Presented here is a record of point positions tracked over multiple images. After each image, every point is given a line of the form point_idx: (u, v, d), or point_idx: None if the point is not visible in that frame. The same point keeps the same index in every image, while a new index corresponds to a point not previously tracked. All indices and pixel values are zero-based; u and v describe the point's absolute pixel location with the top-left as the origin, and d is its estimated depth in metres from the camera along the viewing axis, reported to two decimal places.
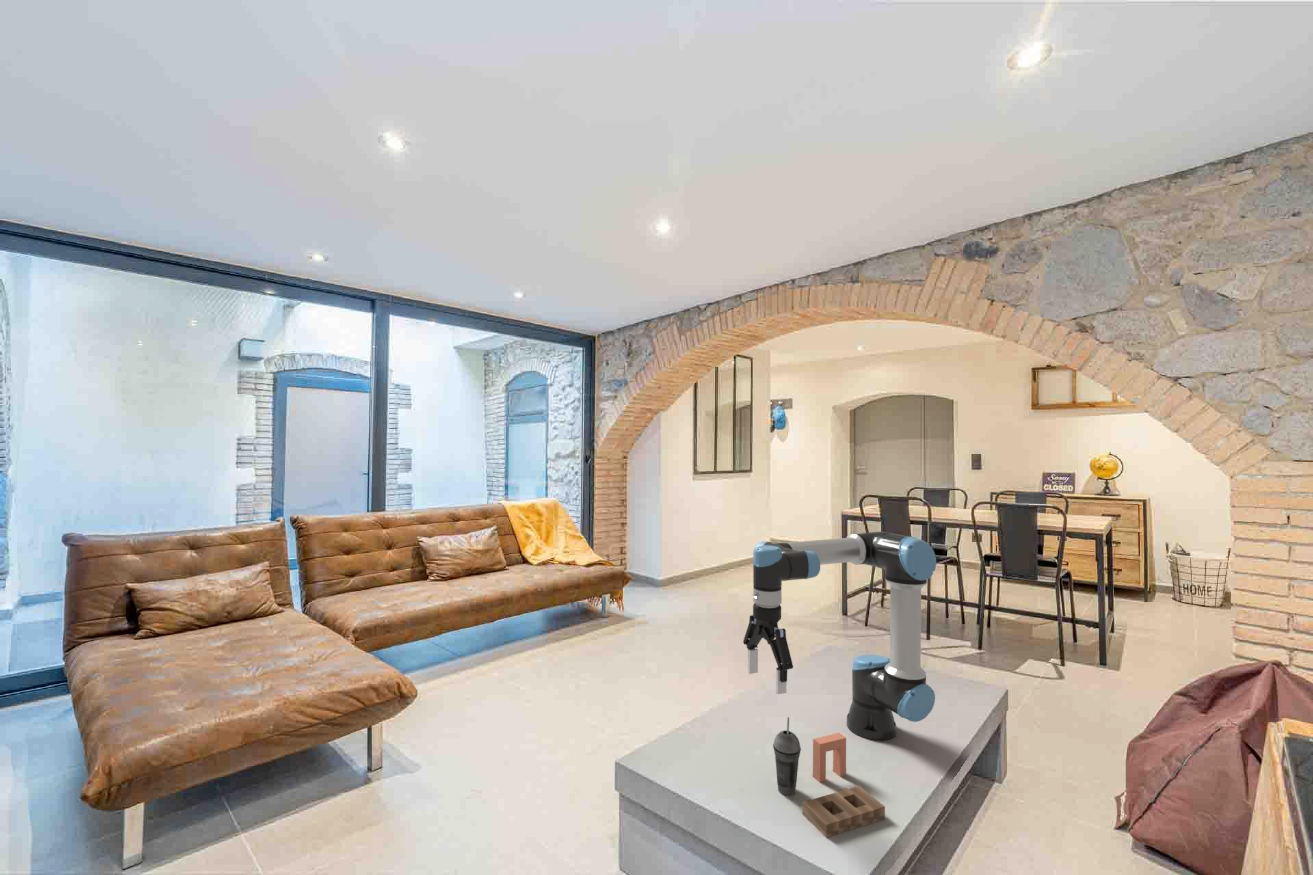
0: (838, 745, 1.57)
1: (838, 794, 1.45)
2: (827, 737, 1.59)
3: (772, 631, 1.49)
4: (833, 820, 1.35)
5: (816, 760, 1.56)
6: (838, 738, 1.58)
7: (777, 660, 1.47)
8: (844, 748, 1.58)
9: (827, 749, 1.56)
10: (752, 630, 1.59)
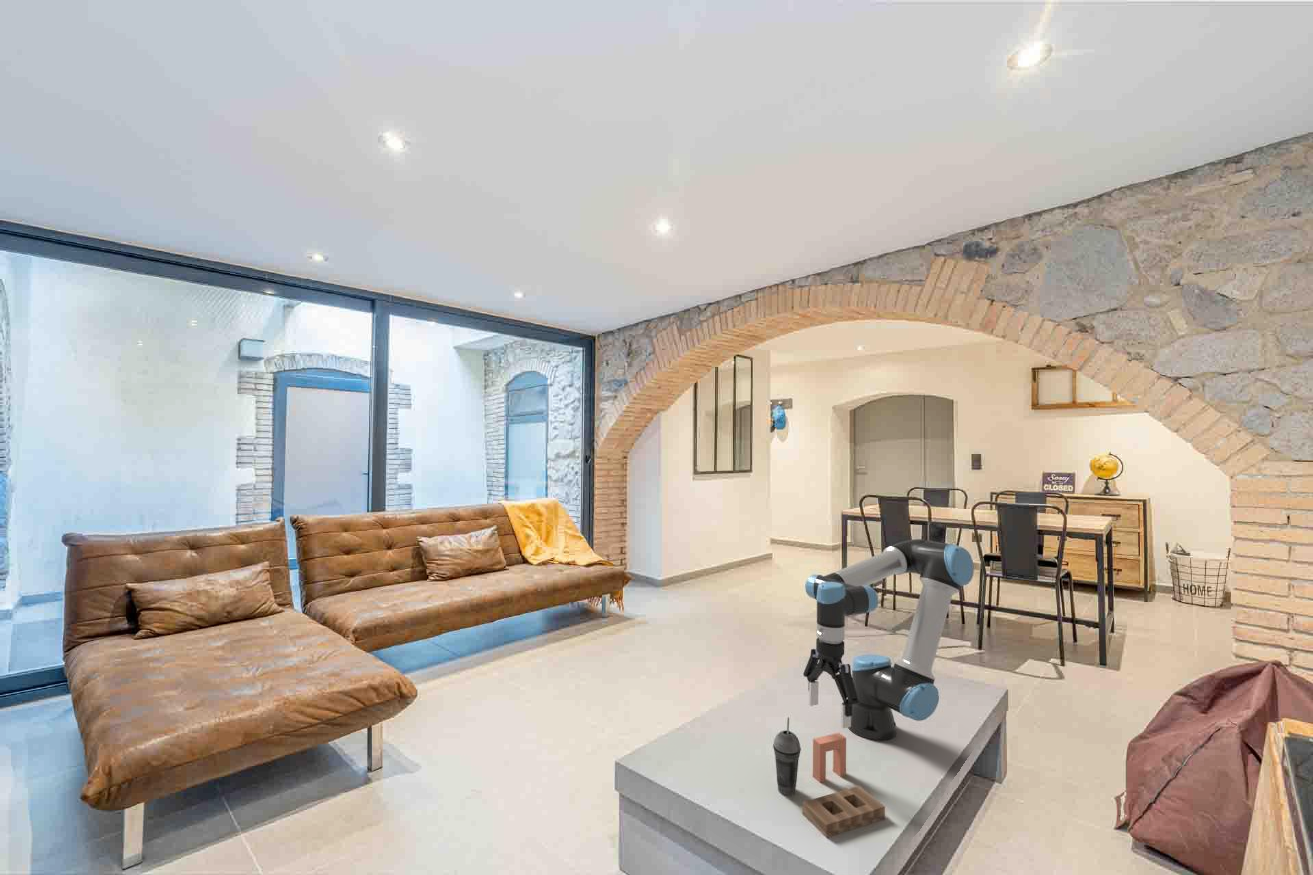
0: (838, 745, 1.57)
1: (838, 794, 1.45)
2: (827, 737, 1.59)
3: (836, 666, 1.54)
4: (833, 820, 1.35)
5: (816, 760, 1.56)
6: (838, 738, 1.58)
7: (842, 695, 1.51)
8: (844, 748, 1.58)
9: (827, 749, 1.56)
10: (813, 663, 1.64)
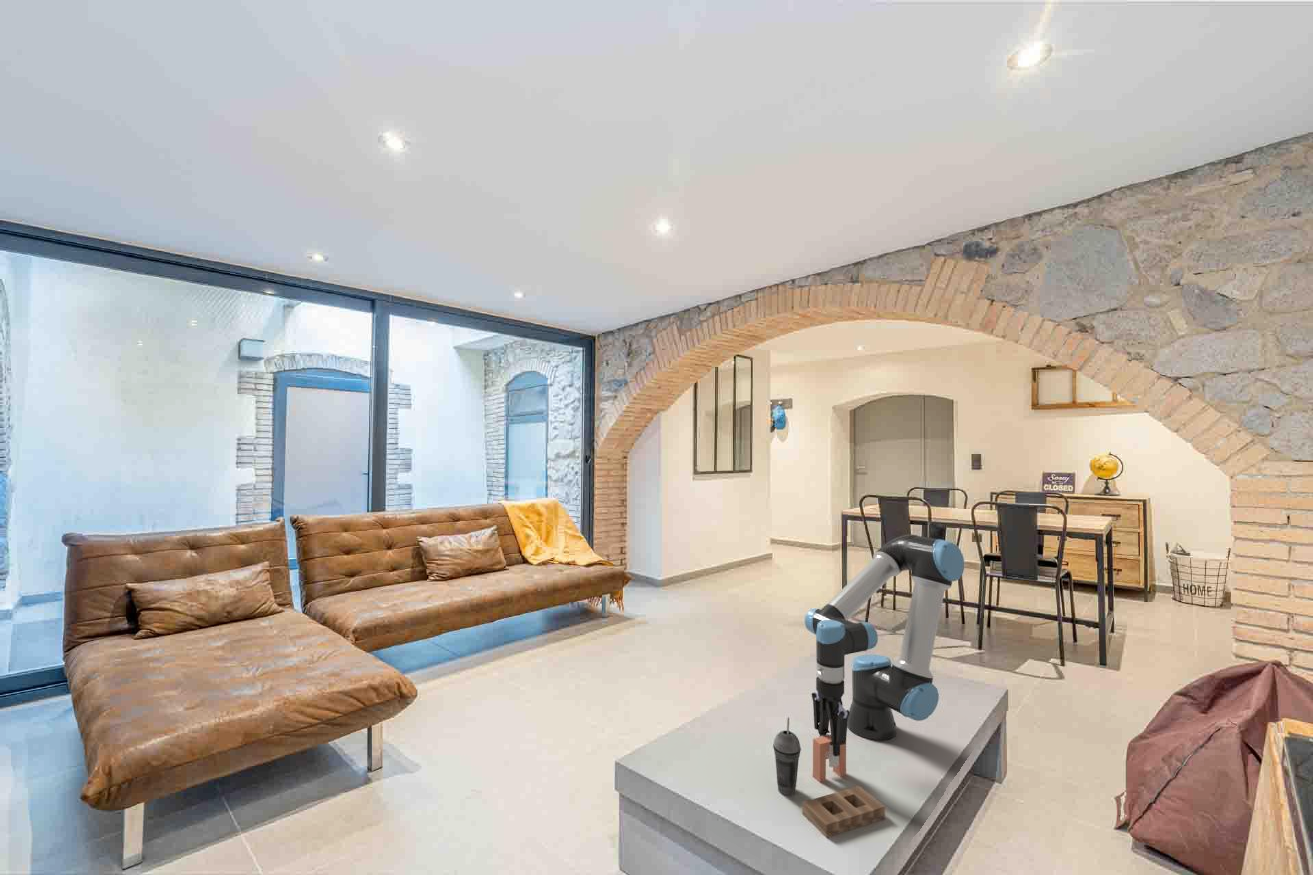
0: None
1: (838, 794, 1.45)
2: (827, 737, 1.59)
3: (836, 707, 1.54)
4: (833, 820, 1.35)
5: (816, 760, 1.56)
6: None
7: (832, 736, 1.55)
8: (844, 748, 1.58)
9: (827, 749, 1.56)
10: (818, 709, 1.62)
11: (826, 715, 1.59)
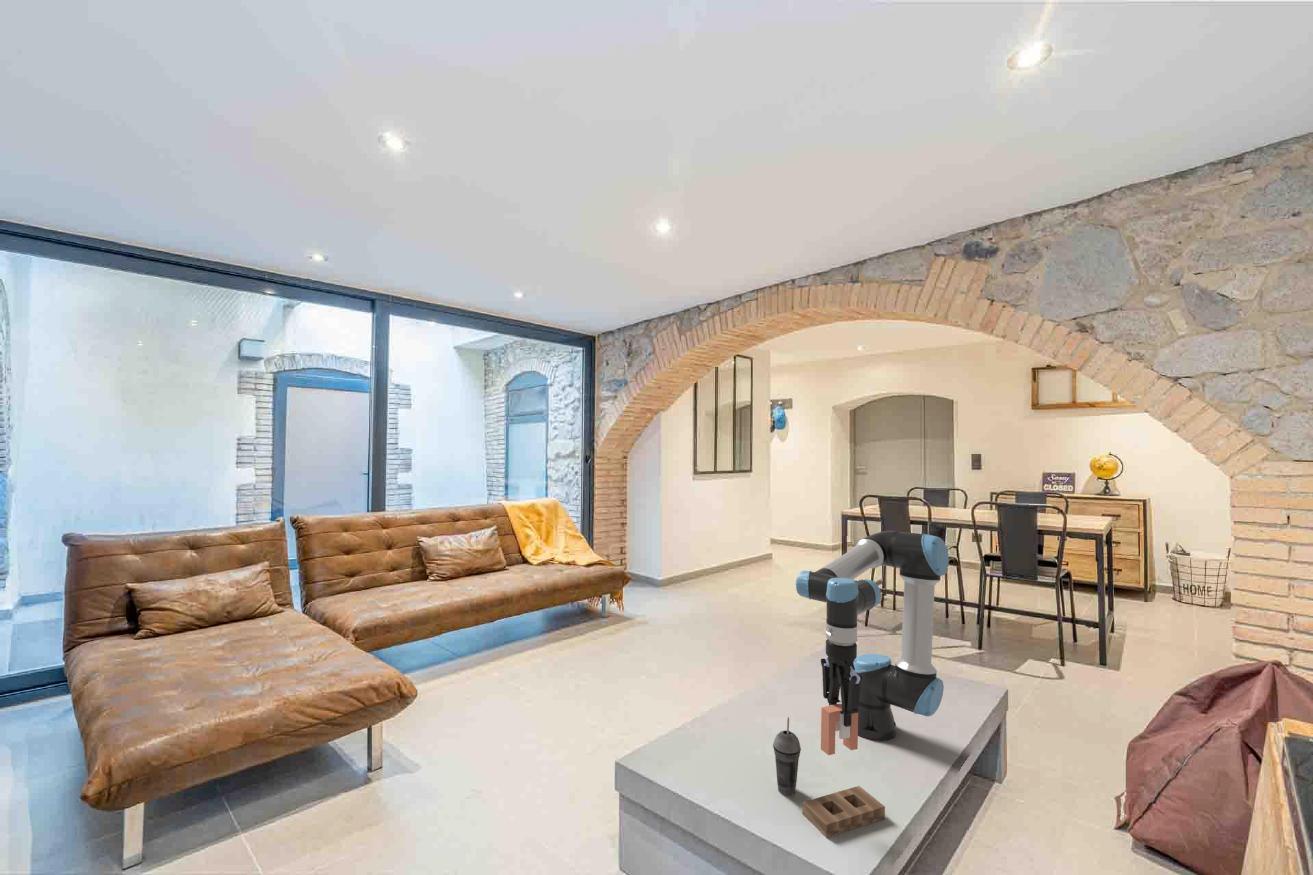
0: None
1: (838, 794, 1.45)
2: (837, 706, 1.44)
3: (847, 672, 1.40)
4: (833, 820, 1.35)
5: (824, 731, 1.42)
6: None
7: (843, 704, 1.41)
8: (856, 719, 1.43)
9: (837, 719, 1.41)
10: (828, 676, 1.48)
11: (836, 682, 1.45)
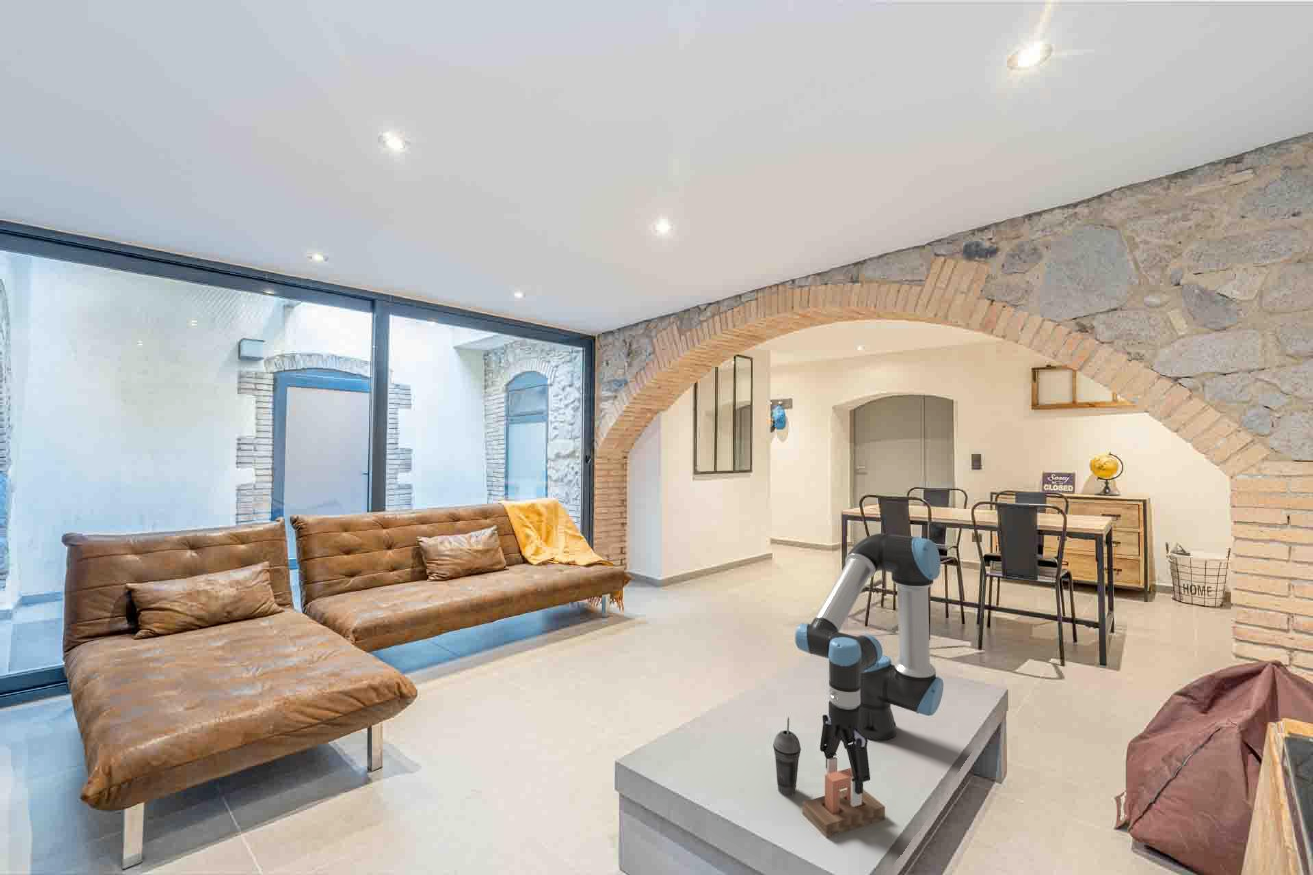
0: None
1: None
2: (841, 773, 1.42)
3: (852, 736, 1.37)
4: (833, 820, 1.35)
5: (828, 799, 1.39)
6: None
7: (853, 770, 1.36)
8: None
9: (841, 787, 1.39)
10: (828, 732, 1.46)
11: (836, 741, 1.44)
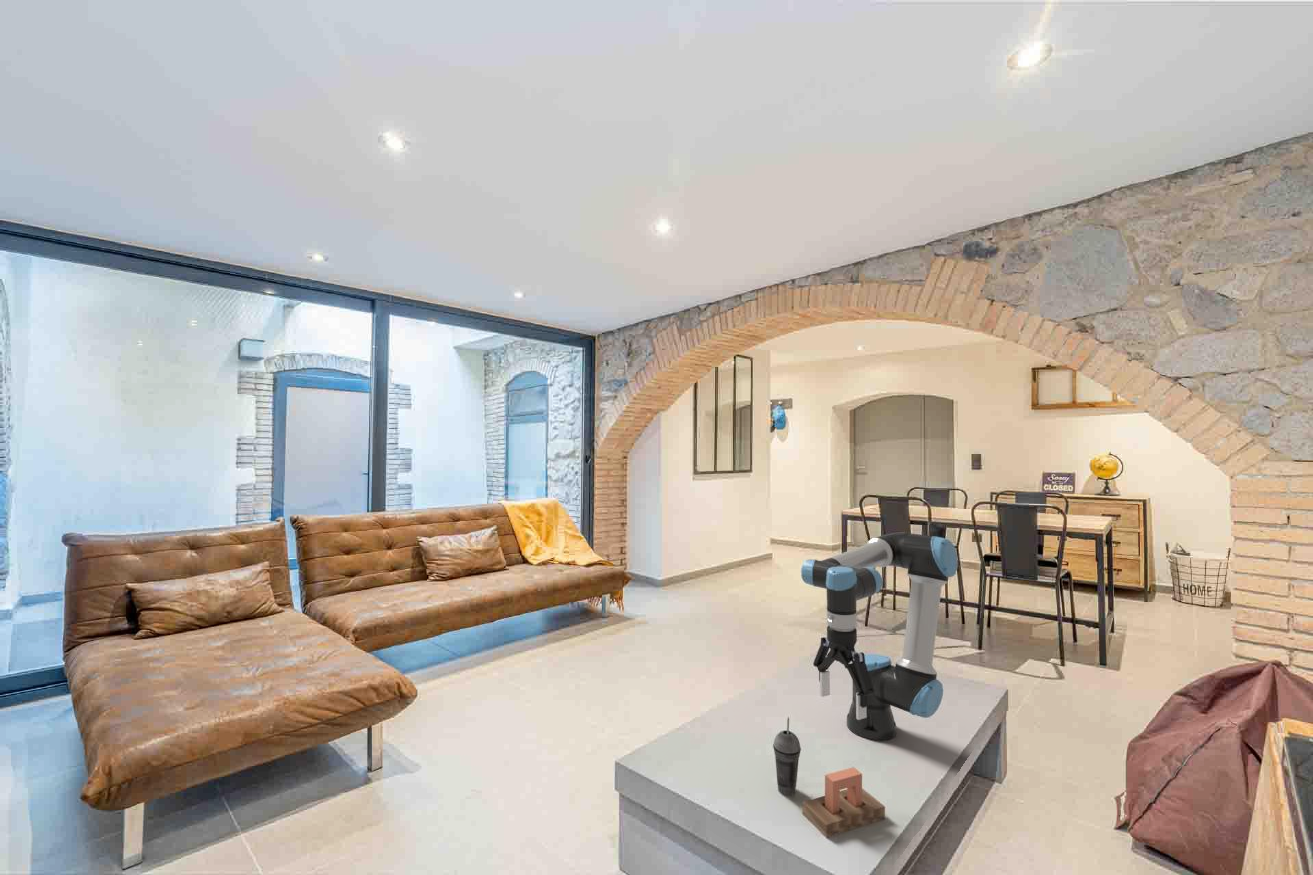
0: (853, 782, 1.40)
1: None
2: (841, 773, 1.42)
3: (850, 655, 1.46)
4: (833, 820, 1.35)
5: (828, 799, 1.39)
6: (853, 774, 1.41)
7: (857, 685, 1.43)
8: (860, 785, 1.41)
9: (841, 787, 1.39)
10: (823, 652, 1.56)
11: (832, 660, 1.54)
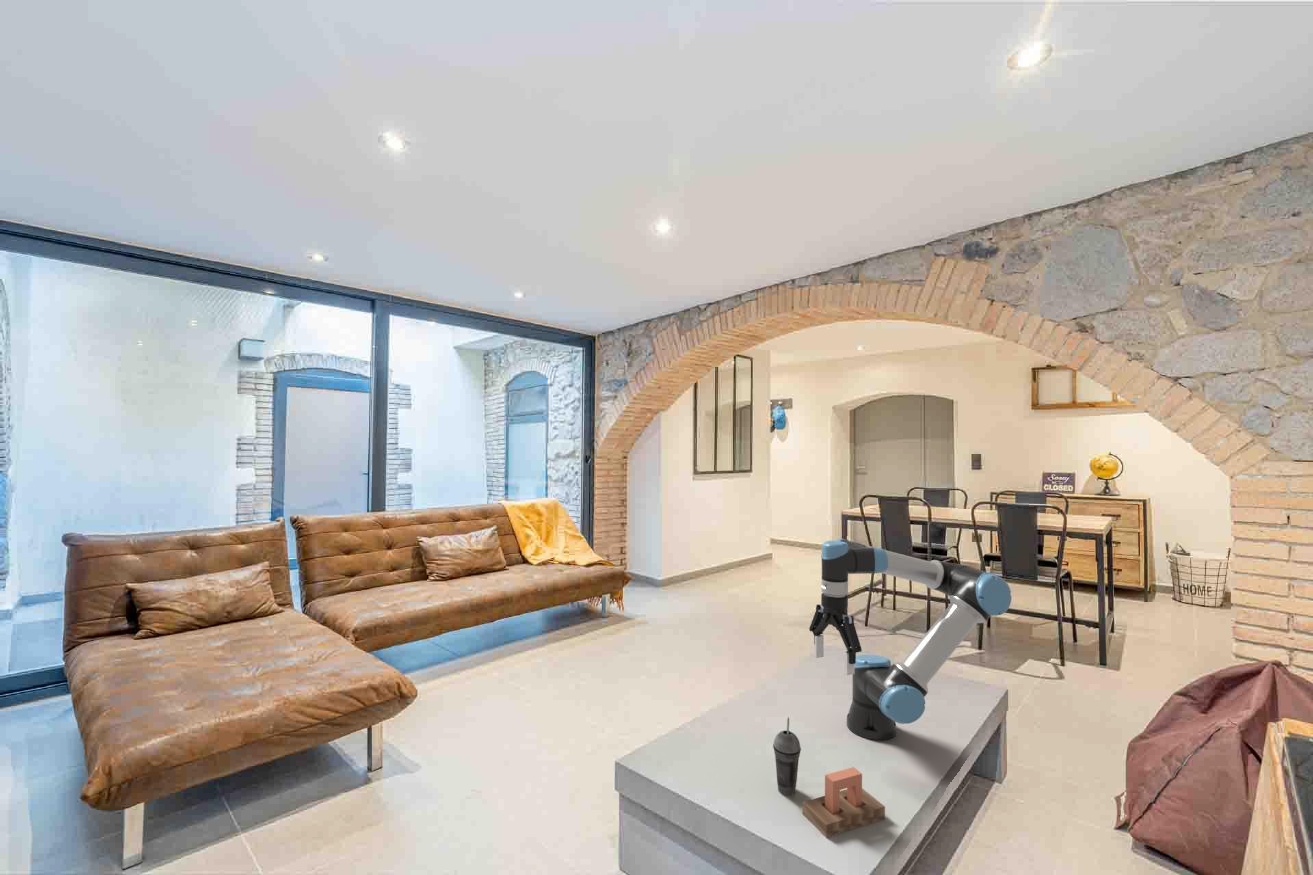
0: (853, 782, 1.40)
1: None
2: (841, 773, 1.42)
3: (840, 618, 1.65)
4: (833, 820, 1.35)
5: (828, 799, 1.39)
6: (853, 774, 1.41)
7: (846, 644, 1.62)
8: (860, 785, 1.41)
9: (841, 787, 1.39)
10: (818, 618, 1.75)
11: (825, 624, 1.72)
